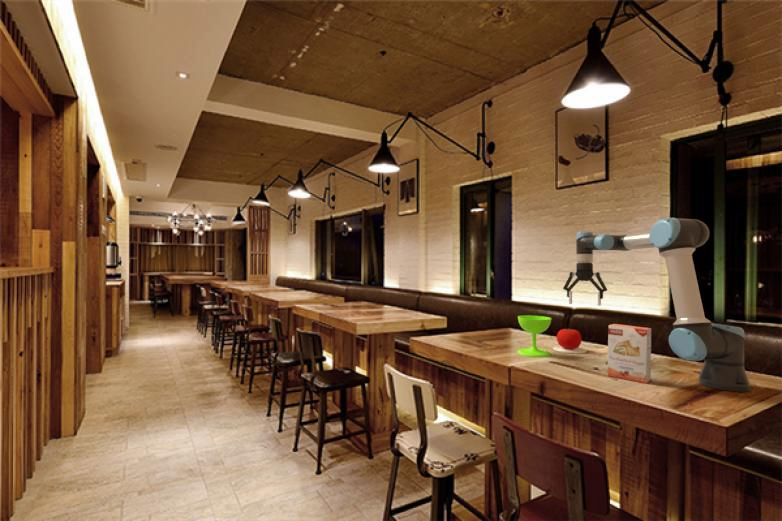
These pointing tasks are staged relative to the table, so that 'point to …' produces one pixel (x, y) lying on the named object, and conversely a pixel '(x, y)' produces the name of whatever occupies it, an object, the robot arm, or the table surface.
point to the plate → (569, 350)
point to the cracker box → (629, 352)
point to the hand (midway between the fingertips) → (584, 304)
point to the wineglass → (534, 333)
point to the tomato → (569, 338)
